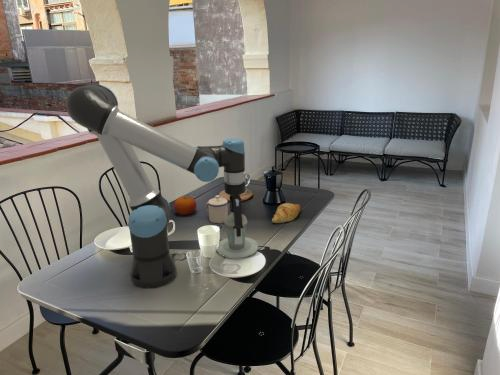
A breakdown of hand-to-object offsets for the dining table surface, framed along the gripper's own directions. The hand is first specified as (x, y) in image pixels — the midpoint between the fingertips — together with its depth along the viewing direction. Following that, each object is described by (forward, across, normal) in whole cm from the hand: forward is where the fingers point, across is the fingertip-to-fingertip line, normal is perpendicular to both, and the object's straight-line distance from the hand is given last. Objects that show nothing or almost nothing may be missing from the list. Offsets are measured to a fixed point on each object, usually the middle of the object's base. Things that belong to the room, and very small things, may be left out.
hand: (236, 235), depth 139 cm
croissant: (+6, +27, -26) cm, 38 cm away
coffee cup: (+4, -1, 0) cm, 5 cm away
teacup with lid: (+6, +31, +6) cm, 32 cm away
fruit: (+6, +41, +20) cm, 46 cm away
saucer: (+6, 0, 0) cm, 6 cm away
